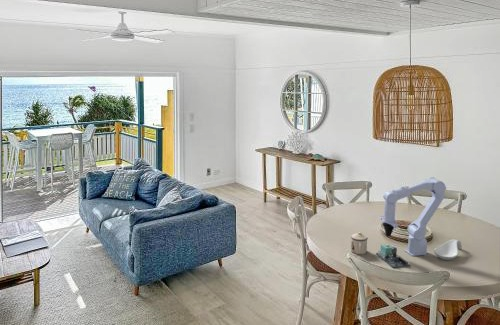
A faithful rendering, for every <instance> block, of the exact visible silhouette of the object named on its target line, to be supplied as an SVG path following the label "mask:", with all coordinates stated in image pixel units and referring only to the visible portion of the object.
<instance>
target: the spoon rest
mask: <svg viewBox="0 0 500 325" xmlns="http://www.w3.org/2000/svg"><path fill="white" fill-rule="evenodd" d="M462 246H463V245H462V243H461V241H460V240H458V239H455V238H452V239H450V240H448V241H446V242H445V243H442V244H440V245H438V246H436V247H435V248H434V249H433V253H434V254H435V256H437V258H440V259H442V260H444V261H445V260H446V261H450V260H451V261H452V260H454V259H456V258H457V256H458V254H459V250H462V249H463V247H462Z"/></svg>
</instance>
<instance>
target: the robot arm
mask: <svg viewBox="0 0 500 325" xmlns="http://www.w3.org/2000/svg"><path fill="white" fill-rule="evenodd" d="M422 190H426V191H427V190H429V191H430V194H431V198H430V199H429V201H428V202H427V204H426V206H425V207H424V208H423V210H422V211H421V213H420V215H419V216H418V217H417V219H416V220H413V221H412V223H410V224H409V225H408V227H407V229H406V230H407V232H408V242H407V244H408V246H407V249H404V252H406V253H407V254H409V255H410V256H412V257H415V256H425V255H428V253H427V252H428V250H427V248H428V241H427V238H426V237H425V236H426V232H427V229H428V227H427V225H428V224H429V222H430V220H432V219H431V218H432V217H433V216H434V215H435V213H436V211H437V209H438V208H439V207H440V205H441V203H442V202H443V200H444V198H445V193H446V190H447V187H446V184H445V183H444V182H443V181H441V180H439V179H437V178H436V177H429V178H425V179H423V181H420V182H418V183H416V184H412V185H411V186H408V187H407V186H402V185H401V186H400V187H399V188H397V189H392V190H387V191H386V192H385V193H384V194H383V199H384V206H383V207H384V209H383V212H384V213H383V216H382V215H381V216H380V220H381V222H382V226H383V228H384V231H385V236H386V237H391V236H392V233H393V231H394V229H398V228H399V224H398V223H397V222H396V219H395V218H396V203H397V202H398V201H399V200H402V199H405V198H407V197H410V195H411V194H413V193H416V192H419V191H422Z"/></svg>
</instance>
